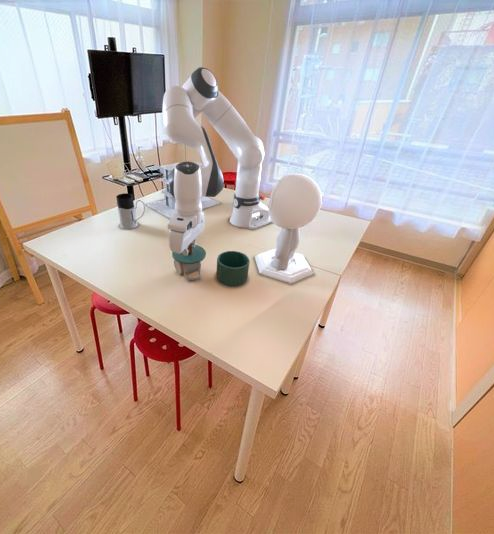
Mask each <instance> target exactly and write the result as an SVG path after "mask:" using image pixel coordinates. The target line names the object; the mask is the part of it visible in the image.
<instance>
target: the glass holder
mask: <svg viewBox="0 0 494 534" xmlns="http://www.w3.org/2000/svg"><path fill="white" fill-rule="evenodd" d="M138 202H141V203H142V205H143V212H142V214H141V215H140V216H139V217H138V218H137V214H136V209H137V208H138ZM116 205H117V211H118V212H117V213H118V218H119V222H120V225H119V227H120V229H122V230H132V229H135V228H137V227H138V226H139V224H138V220H140V219H141V218H142V217H143V216H144V214H145V211H146V204H145V202H144V201H143V200H141V199H138V200H136V202H135V201H134V195H133V194H132V193H126V192H124V193H120V194H117V195H116Z"/></svg>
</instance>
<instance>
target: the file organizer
mask: <svg viewBox="0 0 494 534" xmlns="http://www.w3.org/2000/svg"><path fill="white" fill-rule="evenodd" d="M181 162H182V161H180V162H173V163H168V164H163V165H158V168H161V169H163V177H161V178H159V182H163V183H164V189H163V190H162V189H161V190H160V194H162V195H164V199H161V200H158V201H154V202H151V203H146V206H147V207H150V208H151V209H152V210H155V211H156V212H158V213H159V214H162V216H164V217H166V218H168V219H169V220H170V219H171V217H172V215H173V213H174V211H175V202H176V200H175V198H174V197H173V196H172V195H171V194H170V193H169V180H168V175H169V173H170V172H171V171H172V170H173V169H174V168H175V166H176V165H177V164H179V163H181ZM193 162H194V163H196V164H198V165H199V167H201V166H204V165H203V162H195V161H193ZM201 204H202V210H205V209H208V208H210V207H213V206H216V205H219V204H220V202H219V201H217V200H215V199H212V198H211V197H205V196H201Z"/></svg>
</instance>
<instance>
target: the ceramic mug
mask: <svg viewBox="0 0 494 534" xmlns="http://www.w3.org/2000/svg"><path fill="white" fill-rule="evenodd" d="M173 266H174V269H175V271H176V273H177V274H178V275H180V276H184V277H185V278H186V279H187V280H188V281H191V282H195V281H197V280H199V278H200V277H201V268H202V261H200V262H198V263H194V264H184V263H180V262H177V261H176V260H174V259H173ZM194 272H198V276H196V277H190V276H188V275H189V274H191V273H194Z"/></svg>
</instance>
